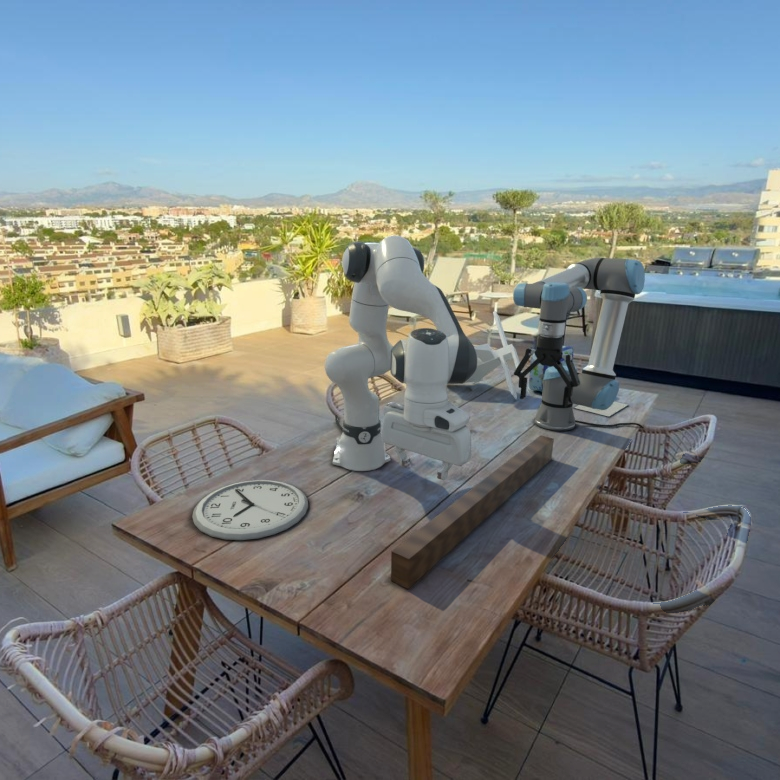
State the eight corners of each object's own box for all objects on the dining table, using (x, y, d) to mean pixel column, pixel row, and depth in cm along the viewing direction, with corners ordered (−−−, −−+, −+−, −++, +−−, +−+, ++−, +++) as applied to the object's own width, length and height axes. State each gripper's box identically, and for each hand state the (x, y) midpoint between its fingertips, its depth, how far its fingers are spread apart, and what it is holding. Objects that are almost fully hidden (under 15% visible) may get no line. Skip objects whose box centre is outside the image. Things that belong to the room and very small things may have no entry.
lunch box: (545, 397, 238) (550, 352, 231) (524, 391, 245) (529, 348, 239) (572, 386, 255) (578, 344, 249) (552, 381, 262) (557, 340, 256)
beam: (538, 455, 177) (540, 435, 174) (551, 459, 174) (553, 438, 172) (390, 580, 113) (391, 551, 111) (408, 589, 110) (409, 559, 108)
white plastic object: (461, 429, 252) (437, 405, 227) (444, 352, 274) (420, 323, 250) (535, 404, 240) (518, 377, 215) (510, 326, 262) (492, 293, 237)
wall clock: (304, 532, 127) (176, 536, 124) (304, 538, 127) (177, 542, 125) (311, 475, 155) (207, 478, 153) (311, 480, 156) (208, 483, 153)
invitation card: (608, 416, 214) (573, 407, 224) (608, 416, 214) (573, 408, 224) (628, 404, 229) (594, 396, 238) (628, 405, 229) (594, 397, 238)
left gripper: (375, 403, 109) (375, 463, 113) (461, 426, 98) (457, 492, 102) (393, 396, 114) (392, 454, 118) (477, 416, 102) (472, 480, 107)
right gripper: (506, 331, 161) (501, 397, 167) (589, 343, 147) (579, 414, 153) (516, 328, 167) (511, 391, 173) (597, 339, 153) (587, 407, 159)
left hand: (423, 472), depth 110 cm, fingers open, 8 cm apart
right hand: (543, 402), depth 163 cm, fingers open, 13 cm apart
